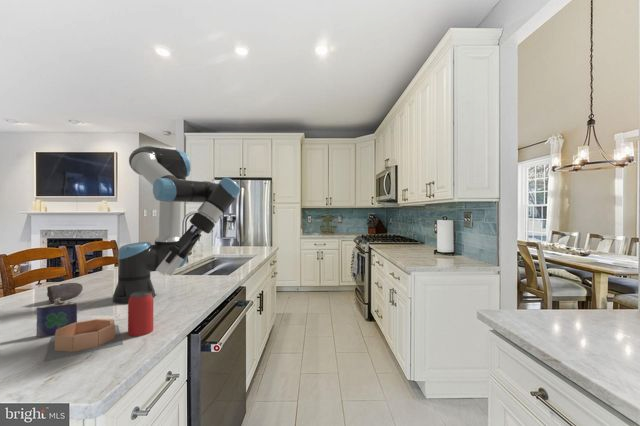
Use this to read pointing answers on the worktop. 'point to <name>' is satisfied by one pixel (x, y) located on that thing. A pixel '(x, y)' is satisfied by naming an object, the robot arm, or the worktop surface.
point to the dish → (84, 335)
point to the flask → (55, 317)
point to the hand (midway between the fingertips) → (163, 273)
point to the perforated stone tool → (64, 291)
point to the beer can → (140, 313)
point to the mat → (54, 354)
